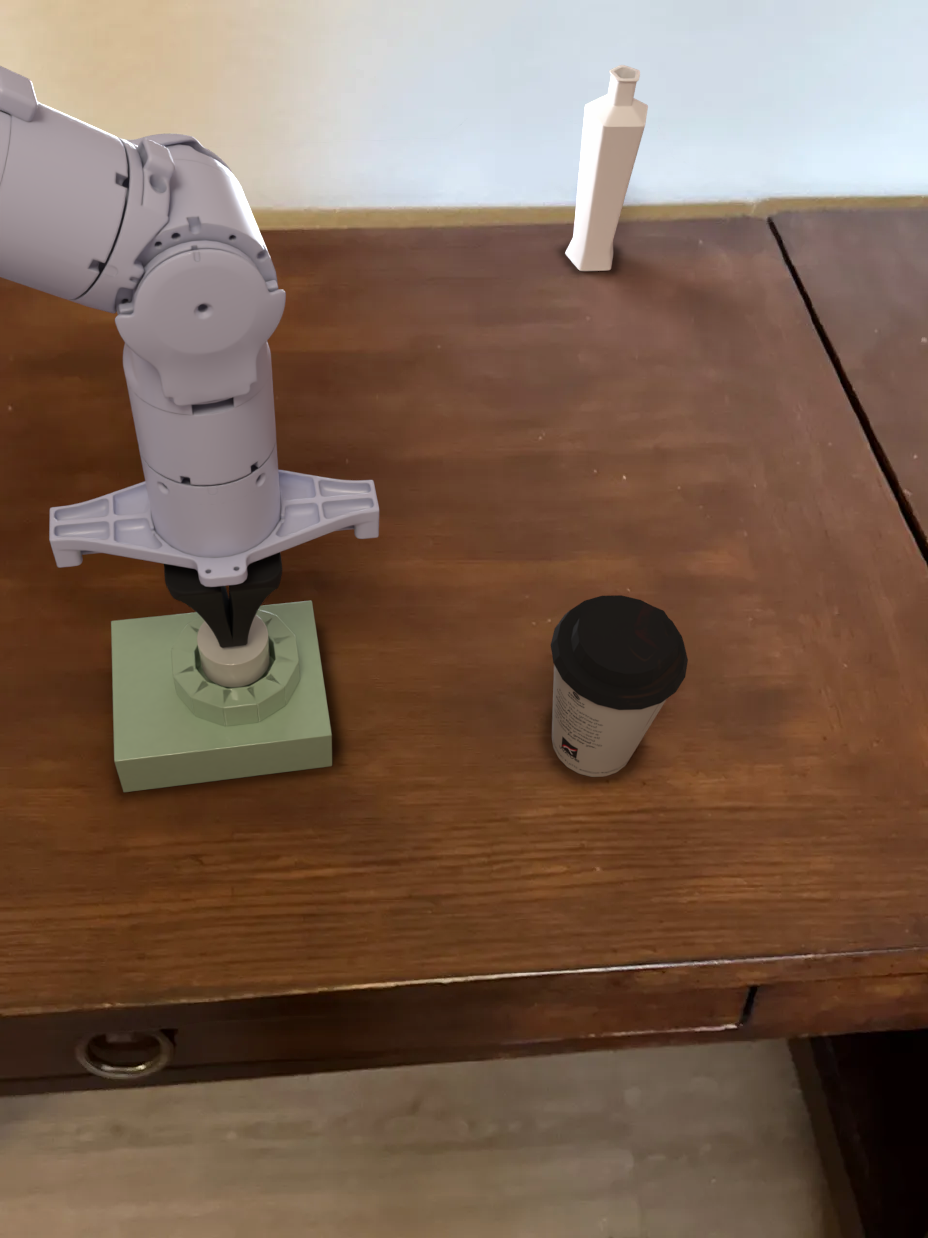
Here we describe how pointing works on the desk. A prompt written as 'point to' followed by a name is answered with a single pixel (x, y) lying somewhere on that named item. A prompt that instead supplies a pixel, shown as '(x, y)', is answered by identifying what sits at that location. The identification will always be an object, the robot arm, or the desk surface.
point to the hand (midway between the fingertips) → (232, 631)
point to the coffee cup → (611, 680)
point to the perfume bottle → (606, 168)
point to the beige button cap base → (215, 704)
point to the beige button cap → (234, 656)
